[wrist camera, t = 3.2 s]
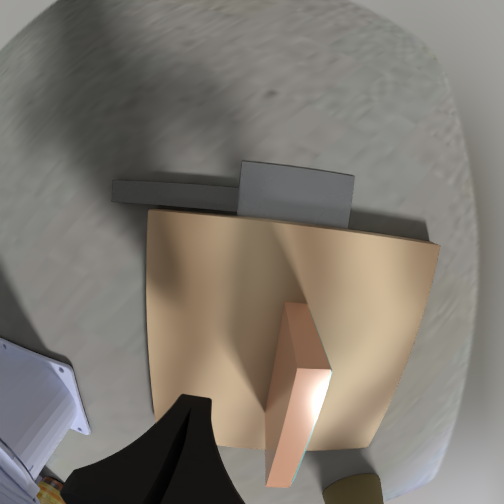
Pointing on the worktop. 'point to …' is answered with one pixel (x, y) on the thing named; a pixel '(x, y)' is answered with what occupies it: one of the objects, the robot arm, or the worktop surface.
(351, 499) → the pepper shaker
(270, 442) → the tile
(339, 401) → the tan cloth
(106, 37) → the worktop surface
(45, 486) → the sauce bottle
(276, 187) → the turner
